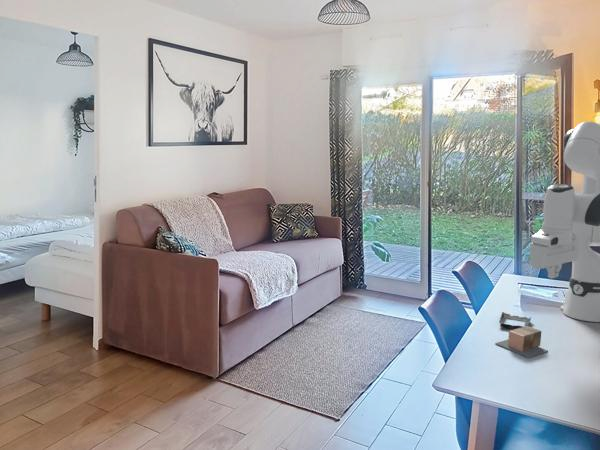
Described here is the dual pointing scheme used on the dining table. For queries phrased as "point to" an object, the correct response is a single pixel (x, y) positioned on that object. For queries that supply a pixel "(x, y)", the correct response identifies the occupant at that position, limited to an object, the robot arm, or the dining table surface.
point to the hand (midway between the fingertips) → (553, 277)
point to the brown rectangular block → (524, 338)
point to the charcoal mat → (525, 353)
